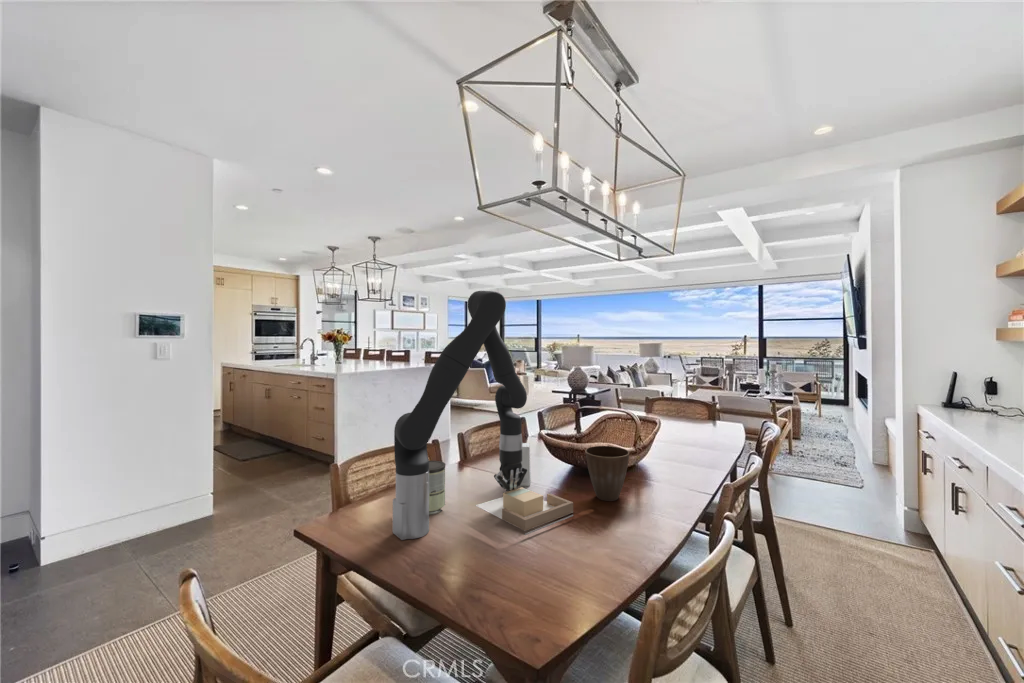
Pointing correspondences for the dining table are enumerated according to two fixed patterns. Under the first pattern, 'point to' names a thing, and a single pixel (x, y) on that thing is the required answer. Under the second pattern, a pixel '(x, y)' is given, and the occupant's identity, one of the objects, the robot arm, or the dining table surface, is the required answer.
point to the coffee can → (436, 486)
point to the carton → (523, 501)
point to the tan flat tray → (551, 511)
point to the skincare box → (526, 464)
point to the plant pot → (607, 470)
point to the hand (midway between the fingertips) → (510, 500)
